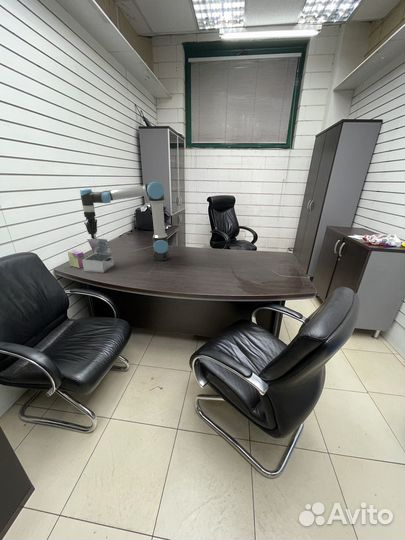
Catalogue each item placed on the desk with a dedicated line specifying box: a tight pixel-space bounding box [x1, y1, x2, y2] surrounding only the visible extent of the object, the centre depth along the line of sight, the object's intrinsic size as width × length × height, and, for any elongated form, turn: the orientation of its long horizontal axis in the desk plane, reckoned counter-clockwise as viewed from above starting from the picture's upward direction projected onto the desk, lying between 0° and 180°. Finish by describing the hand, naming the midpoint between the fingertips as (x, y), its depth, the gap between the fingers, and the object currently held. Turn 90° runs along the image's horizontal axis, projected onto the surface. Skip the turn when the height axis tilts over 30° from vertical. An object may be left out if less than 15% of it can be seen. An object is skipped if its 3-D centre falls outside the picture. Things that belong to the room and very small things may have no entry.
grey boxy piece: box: [82, 253, 115, 274], centre depth 171 cm, size 20×15×9 cm
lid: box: [86, 237, 114, 255], centre depth 171 cm, size 16×15×3 cm
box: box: [67, 249, 85, 269], centre depth 173 cm, size 10×6×12 cm, turn 65°
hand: (94, 242), depth 170 cm, fingers closed
